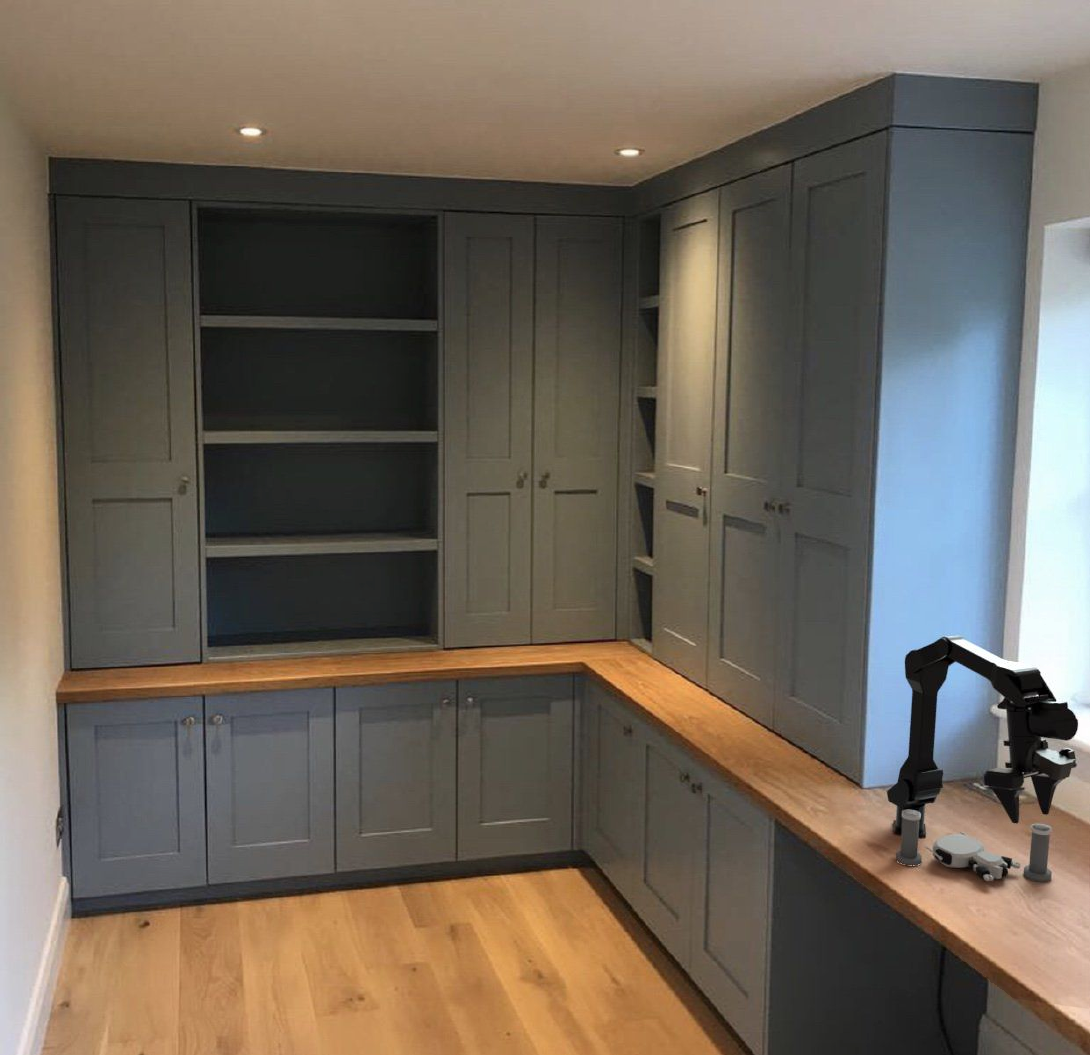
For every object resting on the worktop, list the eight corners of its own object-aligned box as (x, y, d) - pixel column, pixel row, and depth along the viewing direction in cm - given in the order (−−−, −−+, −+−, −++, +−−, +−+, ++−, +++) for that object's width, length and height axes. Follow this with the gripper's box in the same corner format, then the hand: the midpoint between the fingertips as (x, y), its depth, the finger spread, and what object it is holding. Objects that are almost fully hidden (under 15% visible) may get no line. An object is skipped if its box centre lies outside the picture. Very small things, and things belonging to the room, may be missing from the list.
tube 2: (1022, 869, 242) (1026, 821, 241) (1049, 872, 241) (1053, 824, 239) (1024, 880, 238) (1028, 830, 236) (1052, 883, 236) (1057, 834, 235)
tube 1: (895, 854, 249) (898, 807, 247) (921, 857, 247) (924, 809, 246) (895, 864, 244) (898, 816, 242) (921, 867, 242) (924, 819, 241)
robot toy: (1022, 878, 241) (956, 847, 252) (1026, 857, 240) (959, 826, 251) (987, 895, 233) (919, 862, 245) (990, 873, 232) (922, 841, 244)
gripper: (1032, 745, 218) (1038, 834, 218) (1093, 731, 228) (1099, 816, 228) (978, 740, 227) (984, 825, 227) (1039, 726, 238) (1045, 807, 237)
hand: (1030, 818), depth 230 cm, fingers open, 9 cm apart
